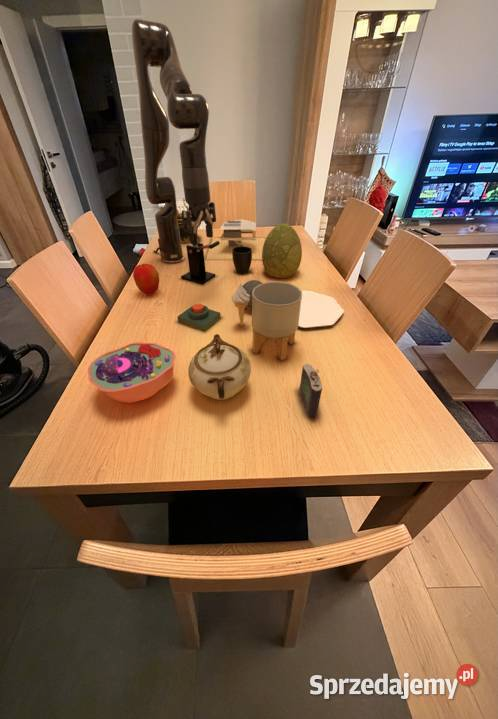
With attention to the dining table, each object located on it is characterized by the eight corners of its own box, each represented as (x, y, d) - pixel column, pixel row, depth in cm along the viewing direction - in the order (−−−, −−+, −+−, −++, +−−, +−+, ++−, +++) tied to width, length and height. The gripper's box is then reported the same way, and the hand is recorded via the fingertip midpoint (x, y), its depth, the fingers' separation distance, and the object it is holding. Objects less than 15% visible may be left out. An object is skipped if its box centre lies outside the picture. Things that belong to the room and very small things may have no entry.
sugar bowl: (256, 415, 69) (256, 367, 59) (190, 422, 68) (180, 374, 58) (246, 360, 84) (245, 315, 74) (192, 365, 83) (184, 319, 73)
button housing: (178, 322, 99) (176, 311, 97) (194, 309, 105) (193, 299, 103) (205, 331, 95) (203, 320, 93) (220, 318, 101) (220, 307, 99)
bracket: (215, 276, 126) (212, 243, 117) (202, 285, 120) (198, 250, 111) (194, 271, 130) (190, 238, 121) (181, 279, 124) (175, 245, 115)
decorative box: (201, 236, 165) (197, 196, 152) (203, 242, 158) (199, 201, 145) (164, 239, 161) (156, 198, 149) (164, 245, 154) (156, 203, 141)
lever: (220, 245, 113) (218, 239, 112) (213, 250, 110) (210, 243, 109) (197, 250, 120) (195, 244, 119) (189, 254, 117) (187, 248, 116)
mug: (251, 264, 136) (252, 243, 130) (251, 275, 126) (252, 253, 120) (233, 264, 136) (233, 242, 130) (232, 275, 127) (231, 253, 120)
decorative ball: (272, 311, 104) (274, 285, 98) (246, 317, 101) (246, 290, 95) (260, 298, 111) (261, 273, 105) (235, 304, 108) (234, 278, 102)
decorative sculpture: (271, 262, 137) (273, 216, 124) (305, 269, 131) (311, 221, 118) (254, 276, 126) (255, 226, 113) (291, 284, 120) (296, 233, 107)
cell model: (184, 403, 72) (177, 368, 65) (95, 422, 68) (77, 387, 60) (176, 360, 84) (169, 326, 77) (101, 373, 80) (86, 339, 73)
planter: (245, 339, 92) (244, 286, 80) (283, 330, 95) (287, 278, 84) (262, 365, 83) (264, 309, 71) (303, 354, 86) (311, 299, 75)
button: (190, 311, 97) (190, 307, 96) (197, 307, 100) (196, 302, 99) (199, 314, 96) (199, 310, 95) (206, 309, 98) (205, 305, 97)
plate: (292, 289, 117) (293, 285, 116) (351, 306, 107) (352, 303, 106) (259, 315, 102) (259, 311, 101) (323, 338, 92) (323, 334, 91)
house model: (269, 259, 140) (270, 232, 132) (205, 259, 140) (203, 232, 132) (267, 238, 162) (268, 214, 155) (212, 238, 163) (210, 213, 155)
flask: (297, 390, 75) (302, 357, 68) (308, 389, 76) (314, 356, 69) (307, 419, 68) (314, 386, 61) (320, 417, 69) (328, 384, 62)
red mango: (153, 300, 110) (146, 269, 103) (132, 297, 113) (124, 266, 105) (166, 289, 117) (160, 259, 109) (146, 286, 119) (139, 256, 111)
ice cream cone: (252, 322, 99) (252, 280, 89) (246, 331, 95) (246, 288, 85) (236, 319, 100) (235, 277, 91) (230, 328, 96) (228, 285, 87)
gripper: (200, 179, 94) (205, 233, 104) (170, 187, 84) (179, 245, 95) (220, 181, 91) (223, 236, 101) (191, 189, 82) (198, 249, 92)
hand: (202, 240), depth 98 cm, fingers open, 8 cm apart
